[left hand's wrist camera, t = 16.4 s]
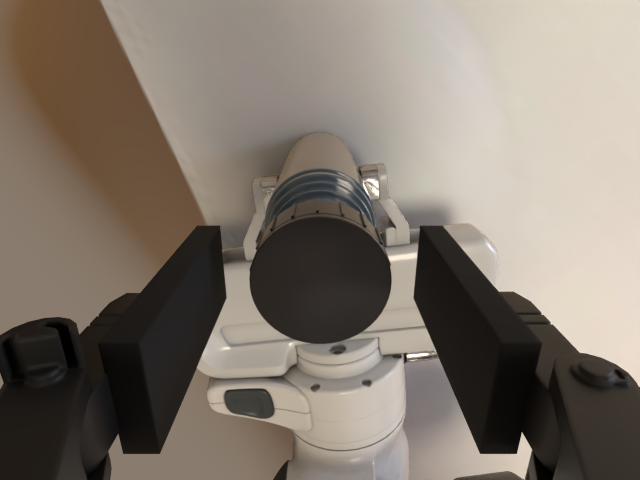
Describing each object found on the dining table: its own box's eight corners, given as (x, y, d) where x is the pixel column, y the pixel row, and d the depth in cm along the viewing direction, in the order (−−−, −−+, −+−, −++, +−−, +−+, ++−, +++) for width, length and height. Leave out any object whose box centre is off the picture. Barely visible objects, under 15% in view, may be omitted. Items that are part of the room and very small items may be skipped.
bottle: (365, 177, 30) (422, 299, 13) (309, 209, 31) (296, 362, 14) (331, 118, 29) (349, 173, 12) (274, 154, 30) (213, 253, 13)
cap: (290, 174, 13) (286, 188, 11) (409, 234, 14) (421, 256, 12) (235, 283, 15) (224, 310, 13) (345, 333, 15) (349, 365, 14)
